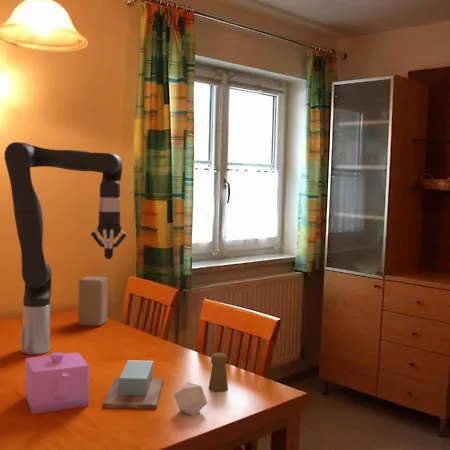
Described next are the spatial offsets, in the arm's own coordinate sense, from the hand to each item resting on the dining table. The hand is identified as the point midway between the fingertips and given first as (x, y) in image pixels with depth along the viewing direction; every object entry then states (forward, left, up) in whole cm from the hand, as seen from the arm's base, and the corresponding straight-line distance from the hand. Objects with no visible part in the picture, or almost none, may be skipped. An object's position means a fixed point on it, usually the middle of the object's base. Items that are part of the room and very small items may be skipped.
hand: (108, 258), depth 201 cm
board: (+15, -36, -35) cm, 53 cm away
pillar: (+15, -24, -31) cm, 42 cm away
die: (+32, -48, -35) cm, 68 cm away
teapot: (-6, -44, -35) cm, 57 cm away
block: (-14, +42, -35) cm, 57 cm away
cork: (+40, -30, -35) cm, 61 cm away
